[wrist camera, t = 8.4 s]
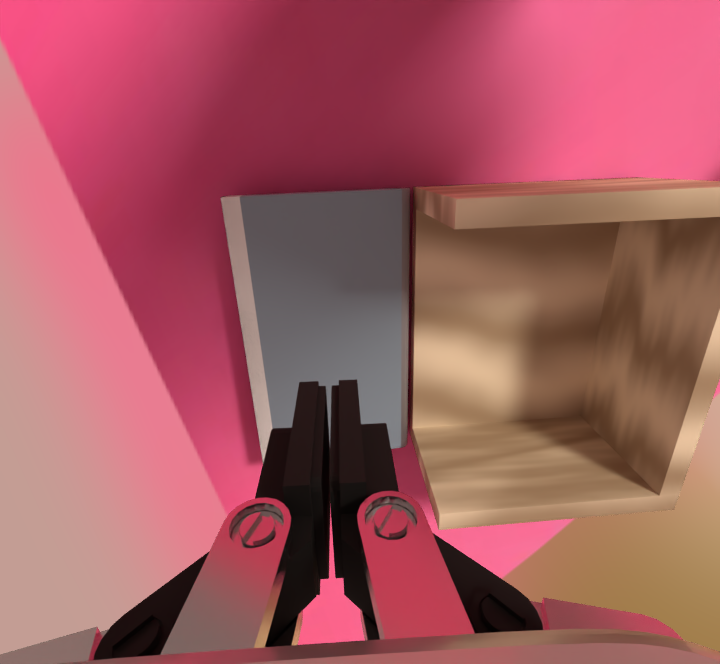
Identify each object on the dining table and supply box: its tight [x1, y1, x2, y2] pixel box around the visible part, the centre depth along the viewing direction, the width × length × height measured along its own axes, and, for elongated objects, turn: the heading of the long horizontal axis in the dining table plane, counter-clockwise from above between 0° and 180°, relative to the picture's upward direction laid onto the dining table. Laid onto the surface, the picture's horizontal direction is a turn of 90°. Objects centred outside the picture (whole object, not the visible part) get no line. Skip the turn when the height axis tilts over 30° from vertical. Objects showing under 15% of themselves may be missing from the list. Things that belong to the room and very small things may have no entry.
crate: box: [410, 177, 720, 530], centre depth 24 cm, size 18×14×9 cm
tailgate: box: [221, 188, 410, 462], centre depth 27 cm, size 18×1×11 cm
